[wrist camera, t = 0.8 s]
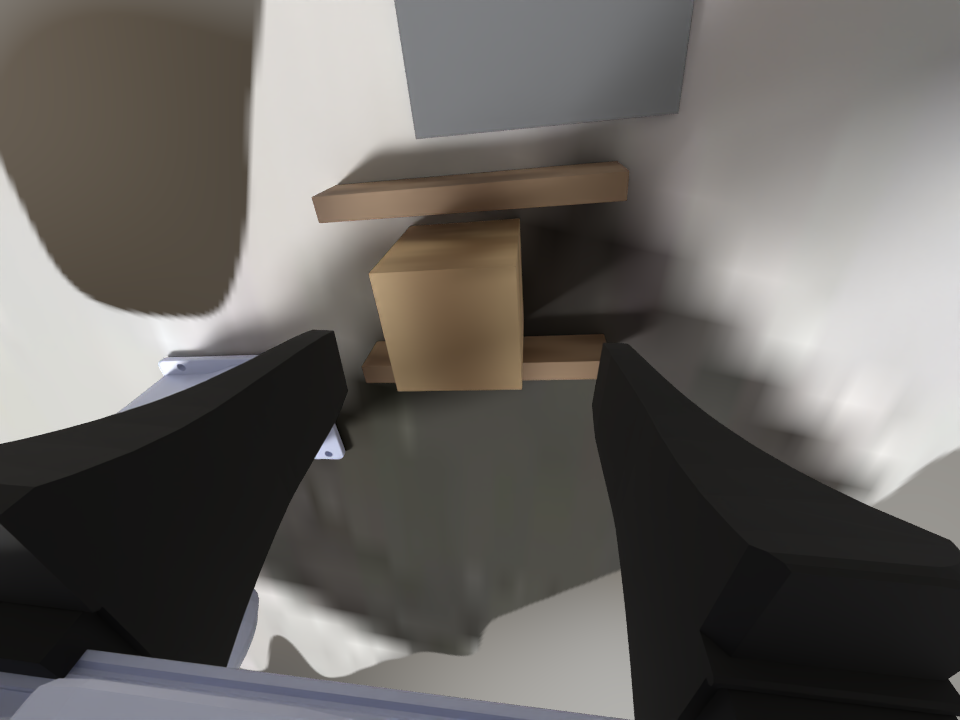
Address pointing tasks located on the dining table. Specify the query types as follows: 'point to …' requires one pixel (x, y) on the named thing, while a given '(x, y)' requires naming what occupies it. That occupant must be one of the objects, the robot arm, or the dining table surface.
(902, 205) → the dining table surface
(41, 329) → the dining table surface
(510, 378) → the oak block
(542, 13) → the rubber mat
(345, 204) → the walnut rack
